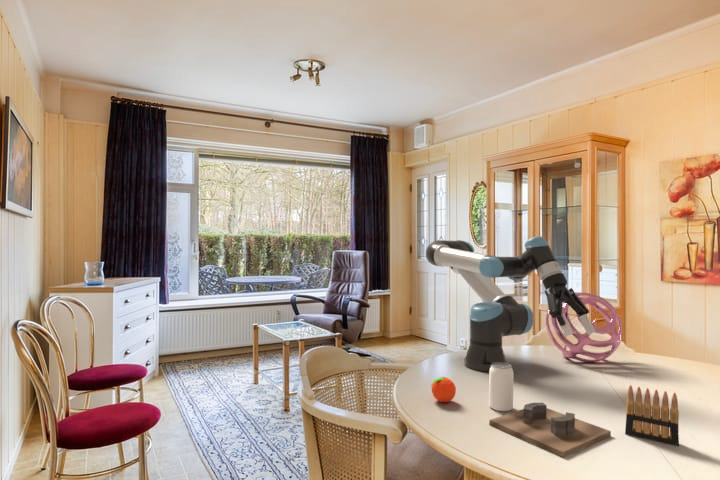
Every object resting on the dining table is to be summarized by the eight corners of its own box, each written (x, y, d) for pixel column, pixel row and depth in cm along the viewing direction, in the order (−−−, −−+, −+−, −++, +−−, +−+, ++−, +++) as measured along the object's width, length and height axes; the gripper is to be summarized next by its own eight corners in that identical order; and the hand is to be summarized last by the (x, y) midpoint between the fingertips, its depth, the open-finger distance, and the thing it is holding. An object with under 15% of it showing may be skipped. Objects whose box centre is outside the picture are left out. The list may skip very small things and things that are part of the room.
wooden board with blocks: (489, 424, 112) (489, 406, 112) (537, 408, 123) (537, 392, 123) (563, 457, 96) (563, 435, 96) (610, 435, 107) (610, 416, 107)
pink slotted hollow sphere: (537, 302, 199) (562, 272, 177) (601, 319, 195) (635, 291, 173) (532, 360, 184) (559, 335, 161) (601, 380, 180) (639, 358, 158)
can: (500, 413, 120) (501, 369, 119) (483, 405, 125) (484, 363, 125) (518, 409, 122) (518, 366, 122) (500, 402, 128) (501, 360, 128)
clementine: (436, 408, 123) (437, 382, 123) (423, 399, 129) (424, 375, 129) (460, 404, 126) (461, 379, 126) (446, 396, 132) (446, 372, 132)
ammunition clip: (625, 434, 108) (625, 385, 108) (625, 431, 109) (626, 383, 109) (679, 446, 102) (679, 394, 102) (678, 443, 103) (679, 392, 103)
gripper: (539, 270, 146) (569, 331, 136) (580, 273, 160) (610, 328, 150) (522, 280, 151) (549, 340, 141) (563, 282, 165) (590, 336, 155)
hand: (581, 334), depth 145 cm, fingers open, 13 cm apart
